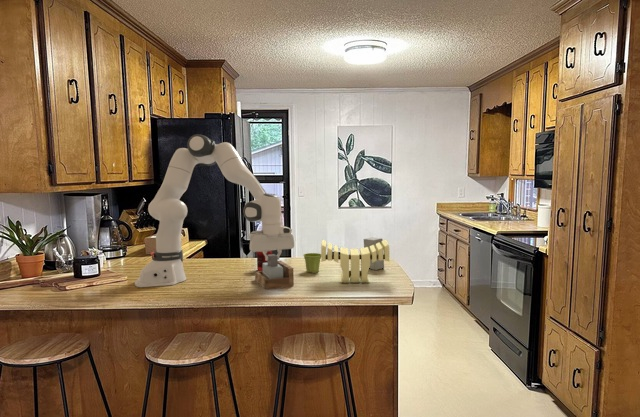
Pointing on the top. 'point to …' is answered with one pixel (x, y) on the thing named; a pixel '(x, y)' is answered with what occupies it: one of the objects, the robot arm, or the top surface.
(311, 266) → the plant pot
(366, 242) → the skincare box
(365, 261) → the slatted curved stool
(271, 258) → the cabinet block
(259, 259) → the canned food
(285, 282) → the brown wooden frame
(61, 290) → the top surface
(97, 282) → the top surface
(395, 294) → the top surface
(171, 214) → the robot arm
